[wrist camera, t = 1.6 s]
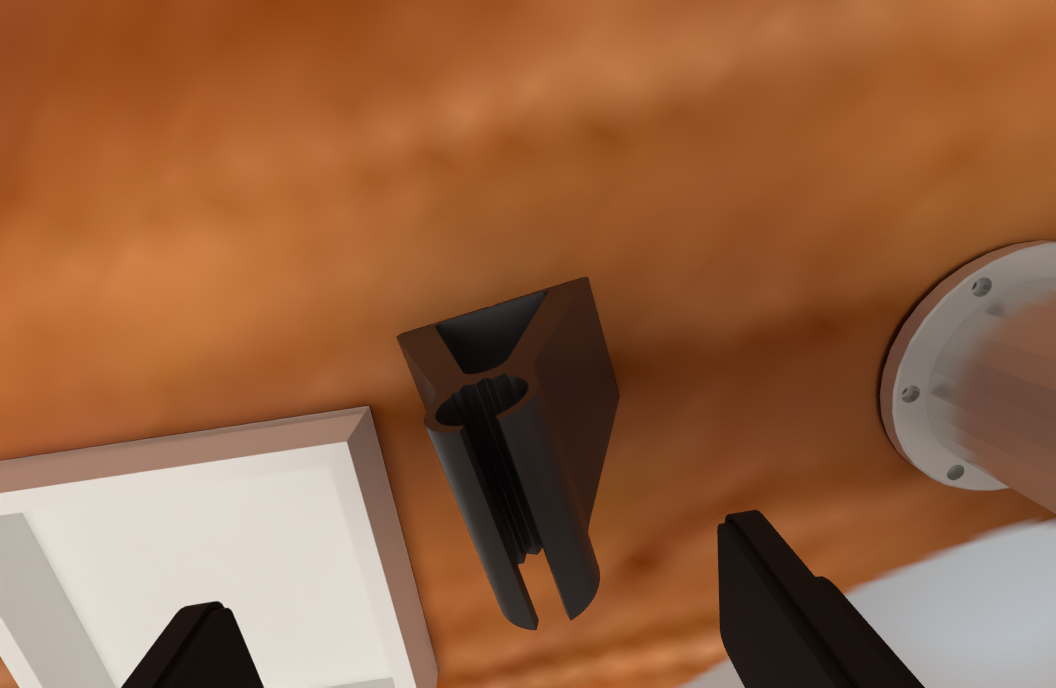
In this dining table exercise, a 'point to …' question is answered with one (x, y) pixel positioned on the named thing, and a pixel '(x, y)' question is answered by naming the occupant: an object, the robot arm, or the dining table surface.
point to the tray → (213, 555)
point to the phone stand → (522, 433)
